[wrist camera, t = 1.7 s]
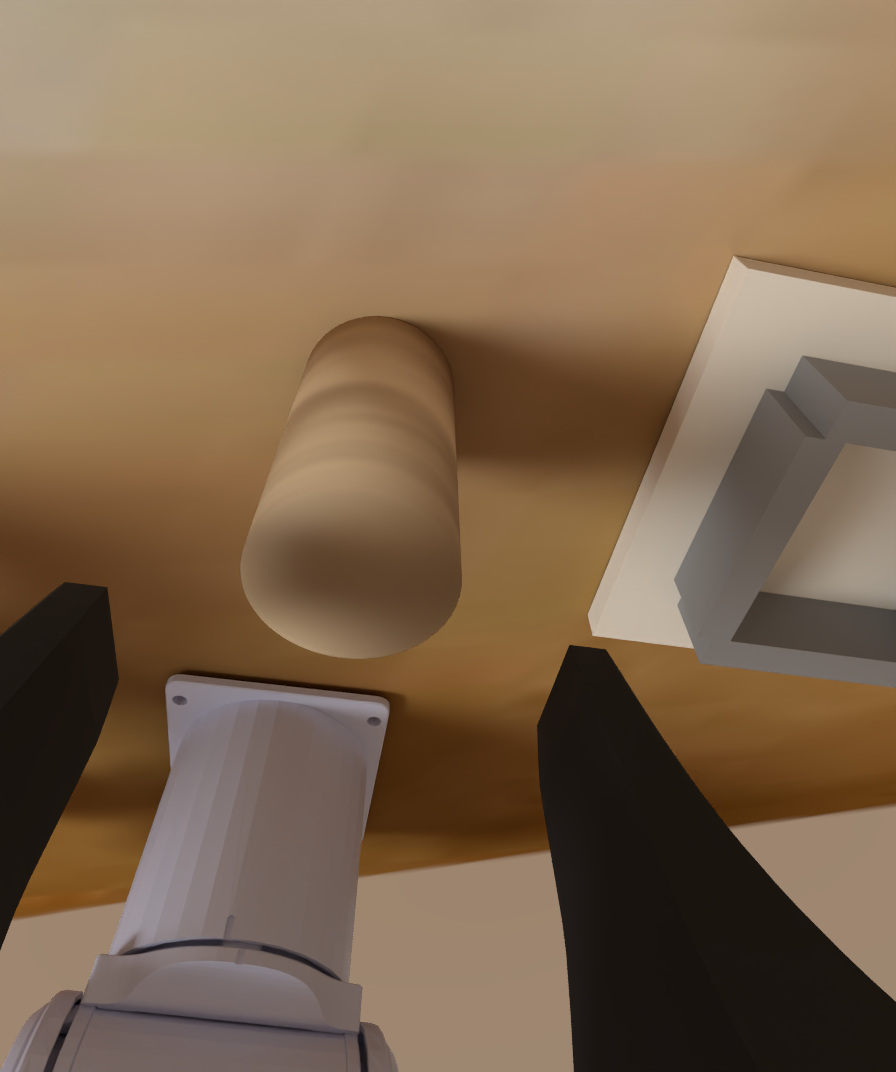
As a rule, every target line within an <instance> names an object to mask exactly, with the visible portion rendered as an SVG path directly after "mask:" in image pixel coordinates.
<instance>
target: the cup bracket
mask: <svg viewBox="0 0 896 1072" xmlns="http://www.w3.org/2000/svg"><path fill="white" fill-rule="evenodd" d="M588 618H589V622H590V626H591V630H592V635H593V636H599V637H607V638H615V639H623V640H631V641H639V642H647V643H655V644H663V645H671V646H678V647H686V648H694V649H695V652H696V654H697V657H698V660H699V662H700V664H708V665H716V666H724V667H733V668H741V669H749V670H757V671H765V672H773V673H781V674H789V675H797V676H805V677H813V678H821V679H829V680H838V681H846V682H854V683H862V684H870V685H878V686H886V687H894V688H896V288H895V287H890V286H885V285H880V284H875V283H869V282H864V281H859V280H854V279H849V278H844V277H839V276H834V275H829V274H824V273H819V272H813V271H808V270H803V269H798V268H793V267H788V266H783V265H778V264H773V263H768V262H762V261H757V260H752V259H747V258H742V257H737V256H733V259H732V261H731V263H730V266H729V268H728V271H727V273H726V276H725V278H724V281H723V283H722V286H721V288H720V291H719V293H718V295H717V298H716V300H715V303H714V305H713V308H712V310H711V313H710V315H709V318H708V320H707V323H706V325H705V327H704V330H703V332H702V335H701V337H700V340H699V342H698V345H697V347H696V350H695V352H694V354H693V357H692V359H691V362H690V364H689V367H688V369H687V372H686V374H685V377H684V379H683V382H682V384H681V386H680V389H679V391H678V394H677V396H676V399H675V401H674V404H673V406H672V409H671V411H670V414H669V416H668V418H667V421H666V423H665V426H664V428H663V431H662V433H661V436H660V438H659V441H658V443H657V446H656V448H655V450H654V453H653V455H652V458H651V460H650V463H649V465H648V468H647V470H646V473H645V475H644V477H643V480H642V482H641V485H640V487H639V490H638V492H637V495H636V497H635V500H634V502H633V505H632V507H631V509H630V512H629V514H628V517H627V519H626V522H625V524H624V527H623V529H622V532H621V534H620V537H619V539H618V541H617V544H616V546H615V549H614V551H613V554H612V556H611V559H610V561H609V564H608V566H607V569H606V571H605V573H604V576H603V578H602V581H601V583H600V586H599V588H598V591H597V593H596V596H595V598H594V600H593V603H592V605H591V608H590V610H589V613H588Z"/></svg>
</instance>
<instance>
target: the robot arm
mask: <svg viewBox="0 0 896 1072" xmlns="http://www.w3.org/2000/svg"><path fill="white" fill-rule="evenodd" d="M118 680H119V678H118V670H117V662H116V654H115V646H114V638H113V630H112V622H111V614H110V606H109V598H108V590H107V587H100V586H92V585H84V584H75V583H67V582H65V583H63V584H62V585H60V586H59V587H57V588H56V589H55V590H54V591H53V592H51V593H50V594H49V595H48V596H46V597H45V598H44V599H43V600H42V601H40V602H39V603H38V604H37V605H36V606H34V607H33V608H32V609H31V610H30V611H28V612H27V613H26V614H25V615H24V616H23V617H21V618H20V619H19V620H18V621H17V622H15V623H14V624H13V625H12V626H11V627H9V628H8V629H7V630H6V631H4V632H3V633H2V634H1V635H0V949H1V947H2V944H3V942H4V939H5V936H6V934H7V931H8V929H9V926H10V923H11V921H12V918H13V916H14V913H15V911H16V908H17V906H18V904H19V902H20V899H21V897H22V895H23V893H24V890H25V888H26V886H27V884H28V882H29V879H30V877H31V875H32V873H33V871H34V869H35V867H36V865H37V863H38V861H39V859H40V857H41V855H42V853H43V851H44V849H45V847H46V845H47V843H48V841H49V839H50V837H51V835H52V833H53V831H54V829H55V827H56V825H57V823H58V821H59V819H60V817H61V815H62V813H63V811H64V809H65V807H66V805H67V803H68V801H69V799H70V797H71V795H72V793H73V791H74V789H75V786H76V784H77V782H78V780H79V778H80V776H81V774H82V772H83V770H84V768H85V766H86V764H87V762H88V760H89V758H90V756H91V754H92V751H93V749H94V747H95V745H96V743H97V741H98V738H99V735H100V733H101V730H102V727H103V724H104V722H105V719H106V716H107V713H108V710H109V707H110V704H111V701H112V698H113V695H114V692H115V689H116V686H117V683H118ZM165 693H166V708H167V722H168V737H169V751H170V766H171V771H170V774H169V777H168V780H167V783H166V786H165V789H164V792H163V795H162V798H161V801H160V804H159V807H158V810H157V813H156V816H155V818H154V821H153V824H152V827H151V830H150V833H149V836H148V839H147V842H146V845H145V848H144V851H143V854H142V857H141V860H140V863H139V866H138V869H137V872H136V874H135V877H134V880H133V883H132V886H131V889H130V892H129V895H128V898H127V901H126V904H125V907H124V910H123V913H122V916H121V919H120V922H119V925H118V928H117V931H116V934H115V937H114V940H113V942H112V945H111V948H110V951H109V954H100V955H98V956H97V958H96V960H95V964H94V966H93V969H92V972H91V975H90V978H89V980H88V984H87V986H86V989H85V992H84V995H83V992H82V991H72V990H64V991H60V992H59V993H57V994H56V995H55V996H54V997H53V998H52V999H51V1001H50V1002H49V1003H47V1004H46V1005H44V1006H43V1007H42V1008H40V1009H39V1010H38V1011H36V1012H35V1013H34V1014H32V1015H31V1016H30V1017H29V1019H28V1020H27V1021H26V1023H25V1024H24V1026H23V1027H22V1029H21V1030H20V1032H19V1034H18V1036H17V1038H16V1039H15V1041H14V1043H13V1045H12V1047H11V1049H10V1051H9V1053H8V1055H7V1057H6V1060H5V1062H4V1064H3V1066H2V1068H1V1070H0V1072H398V1068H397V1063H396V1060H395V1057H394V1055H393V1053H392V1051H391V1049H390V1048H389V1046H388V1044H387V1043H386V1041H385V1038H384V1035H383V1033H382V1031H381V1030H380V1028H379V1027H378V1026H377V1025H375V1024H372V1023H365V1022H360V1012H361V999H362V987H361V985H358V984H352V983H349V974H350V963H351V952H352V940H353V929H354V917H355V906H356V894H357V883H358V872H359V860H360V849H361V841H362V840H363V837H364V832H365V827H366V823H367V818H368V813H369V808H370V803H371V799H372V794H373V789H374V784H375V779H376V775H377V770H378V765H379V760H380V755H381V751H382V746H383V741H384V736H385V731H386V727H387V722H388V717H389V710H390V704H389V702H388V701H387V700H386V699H385V698H383V697H379V696H372V695H363V694H354V693H345V692H336V691H327V690H318V689H309V688H300V687H291V686H282V685H273V684H265V683H256V682H247V681H238V680H229V679H220V678H211V677H202V676H193V675H184V674H176V675H173V676H171V677H170V678H169V679H168V681H167V684H166V687H165ZM182 696H183V697H182ZM537 733H538V761H539V779H540V790H541V796H542V803H543V809H544V815H545V821H546V827H547V834H548V840H549V845H550V851H551V857H552V863H553V869H554V875H555V881H556V887H557V893H558V899H559V905H560V910H561V916H562V923H563V931H564V938H565V947H566V955H567V970H568V982H569V997H570V1011H571V1026H572V1045H573V1063H574V1072H896V1002H895V1001H894V1000H893V999H892V998H891V997H890V996H889V995H888V994H887V993H885V992H884V991H883V990H882V989H881V988H880V987H879V986H878V985H877V984H876V983H874V982H873V981H872V980H871V979H870V978H869V977H868V976H867V975H866V974H865V973H864V972H863V971H862V970H861V969H860V968H858V967H857V966H856V965H855V964H854V963H853V962H852V961H851V960H850V959H849V958H848V957H847V956H846V955H845V954H844V953H843V952H842V951H841V950H840V949H839V948H838V947H837V946H836V945H835V944H834V943H833V942H832V941H831V940H830V939H829V938H828V937H827V936H826V935H825V934H824V933H823V932H822V931H821V930H820V929H819V928H818V927H817V926H816V925H815V924H814V923H813V922H812V921H811V920H810V919H809V918H808V917H807V916H806V915H805V914H804V913H803V912H802V911H801V910H800V909H799V908H798V907H797V906H796V905H795V904H794V902H793V901H792V900H791V899H790V898H789V897H788V896H787V895H786V894H785V893H784V892H783V891H782V890H781V888H780V887H779V886H778V885H777V884H776V883H775V882H774V881H773V880H772V878H771V877H770V876H769V875H768V874H767V873H766V872H765V870H764V869H763V868H762V867H761V866H760V865H759V863H758V862H757V861H756V860H755V859H754V858H753V857H752V855H751V854H750V853H749V852H748V851H747V850H746V849H745V847H744V846H743V845H742V844H741V843H740V841H739V840H738V839H737V838H736V837H735V835H734V834H733V833H732V832H731V831H730V829H729V828H728V827H727V826H726V824H725V823H724V822H723V820H722V819H721V818H720V817H719V815H718V814H717V813H716V811H715V810H714V809H713V807H712V806H711V805H710V803H709V802H708V801H707V800H706V798H705V797H704V796H703V794H702V793H701V792H700V790H699V789H698V787H697V786H696V785H695V783H694V782H693V781H692V779H691V778H690V776H689V775H688V774H687V772H686V771H685V769H684V768H683V766H682V765H681V764H680V762H679V761H678V759H677V758H676V756H675V755H674V753H673V752H672V751H671V749H670V748H669V746H668V745H667V743H666V742H665V740H664V739H663V737H662V736H661V734H660V733H659V731H658V730H657V728H656V727H655V725H654V724H653V722H652V721H651V719H650V718H649V716H648V715H647V713H646V712H645V710H644V708H643V707H642V705H641V704H640V702H639V701H638V699H637V698H636V696H635V694H634V693H633V691H632V690H631V688H630V686H629V685H628V683H627V682H626V680H625V679H624V677H623V675H622V674H621V672H620V671H619V669H618V667H617V666H616V664H615V663H614V661H613V660H612V658H611V657H610V655H609V654H608V652H607V651H606V649H598V648H590V647H582V646H574V645H569V648H568V650H567V653H566V655H565V658H564V660H563V663H562V665H561V668H560V670H559V673H558V675H557V678H556V680H555V683H554V685H553V688H552V690H551V693H550V695H549V698H548V700H547V703H546V705H545V708H544V710H543V712H542V715H541V717H540V720H539V722H538V725H537Z"/></svg>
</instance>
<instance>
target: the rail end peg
mask: <svg viewBox="0 0 896 1072" xmlns="http://www.w3.org/2000/svg"><path fill="white" fill-rule="evenodd" d="M240 573H241V581H242V585H243V589H244V592H245V594H246V597H247V599H248V601H249V603H250V604H251V606H252V608H253V609H254V611H255V612H256V613H257V614H258V616H259V617H260V618H261V619H262V620H263V621H264V622H265V623H266V624H267V625H268V626H269V627H270V628H271V629H272V630H274V631H275V632H276V633H278V634H279V635H280V636H282V637H284V638H285V639H287V640H289V641H290V642H292V643H294V644H296V645H298V646H300V647H303V648H305V649H308V650H311V651H313V652H317V653H320V654H324V655H328V656H334V657H340V658H353V659H362V658H376V657H383V656H388V655H392V654H396V653H399V652H402V651H405V650H408V649H410V648H412V647H414V646H417V645H418V644H420V643H422V642H424V641H425V640H427V639H428V638H430V637H431V636H432V635H434V634H435V633H436V632H437V631H438V630H439V629H440V628H441V627H442V626H443V625H444V624H445V623H446V622H447V620H448V619H449V618H450V616H451V615H452V613H453V611H454V609H455V607H456V605H457V602H458V599H459V597H460V591H461V586H462V574H461V551H460V528H459V505H458V483H457V460H456V437H455V414H454V391H453V379H452V373H451V370H450V367H449V364H448V362H447V360H446V357H445V356H444V354H443V353H442V351H441V349H440V348H439V347H438V346H437V344H436V343H435V342H434V341H433V340H432V339H431V338H430V337H429V336H428V335H427V334H425V333H424V332H422V331H421V330H420V329H418V328H416V327H414V326H412V325H411V324H409V323H406V322H403V321H401V320H397V319H393V318H389V317H380V316H373V317H362V318H357V319H354V320H350V321H347V322H345V323H343V324H340V325H339V326H337V327H335V328H334V329H332V330H331V331H329V332H328V333H327V334H326V335H325V336H324V337H323V338H322V339H321V340H320V341H319V342H318V343H317V345H316V346H315V348H314V349H313V351H312V353H311V355H310V357H309V359H308V362H307V365H306V368H305V371H304V374H303V377H302V380H301V383H300V385H299V388H298V391H297V394H296V397H295V400H294V403H293V406H292V409H291V412H290V414H289V417H288V420H287V423H286V426H285V429H284V432H283V435H282V438H281V441H280V444H279V446H278V449H277V452H276V455H275V458H274V461H273V464H272V467H271V470H270V473H269V476H268V478H267V481H266V484H265V487H264V490H263V493H262V496H261V499H260V502H259V505H258V507H257V510H256V513H255V516H254V519H253V522H252V525H251V528H250V531H249V534H248V537H247V539H246V542H245V545H244V549H243V552H242V556H241V564H240Z"/></svg>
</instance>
